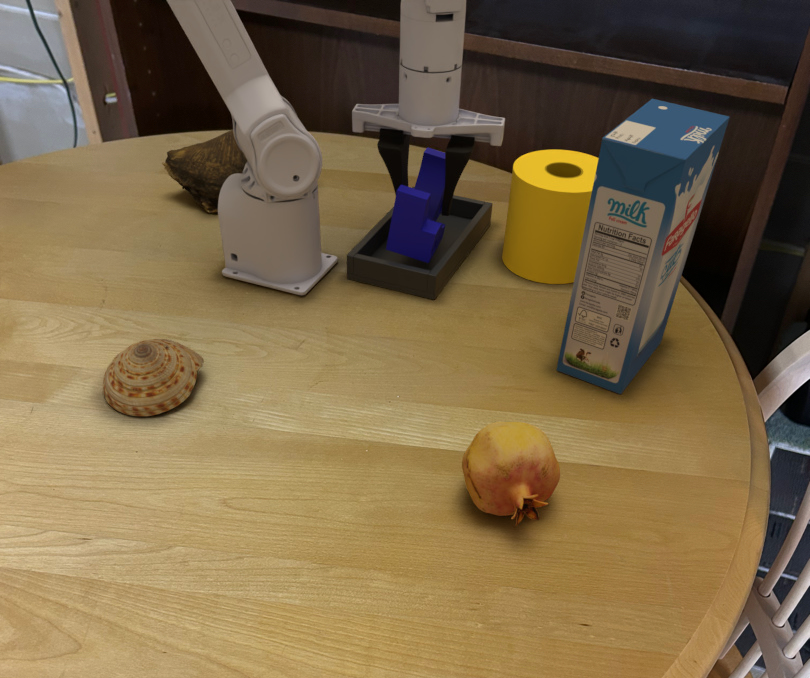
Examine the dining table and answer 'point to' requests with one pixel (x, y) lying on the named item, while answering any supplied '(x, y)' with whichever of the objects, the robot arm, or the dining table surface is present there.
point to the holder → (414, 275)
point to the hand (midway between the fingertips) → (424, 209)
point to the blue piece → (419, 211)
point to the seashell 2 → (206, 168)
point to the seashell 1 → (151, 377)
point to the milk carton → (637, 239)
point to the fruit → (510, 469)
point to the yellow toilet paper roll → (548, 214)
